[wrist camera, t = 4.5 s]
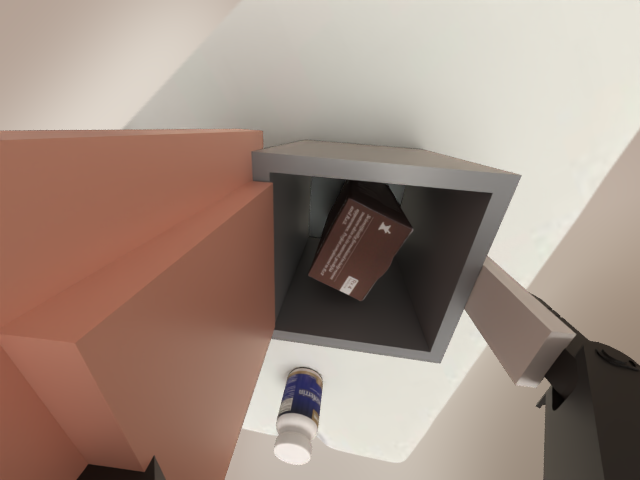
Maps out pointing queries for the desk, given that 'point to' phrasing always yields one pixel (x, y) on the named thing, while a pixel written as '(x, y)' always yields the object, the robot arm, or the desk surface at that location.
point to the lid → (131, 299)
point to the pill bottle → (298, 416)
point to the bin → (409, 262)
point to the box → (360, 238)
